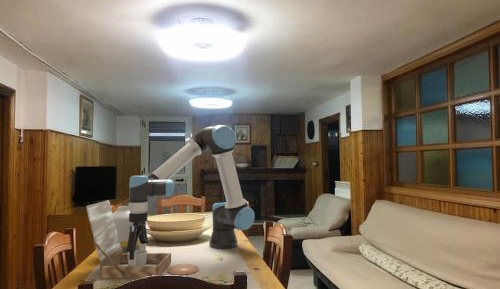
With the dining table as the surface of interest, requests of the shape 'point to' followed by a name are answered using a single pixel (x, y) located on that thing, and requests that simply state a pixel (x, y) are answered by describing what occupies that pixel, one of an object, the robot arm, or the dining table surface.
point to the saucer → (182, 269)
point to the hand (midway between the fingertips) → (137, 263)
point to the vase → (123, 226)
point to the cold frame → (118, 247)
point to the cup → (140, 257)
